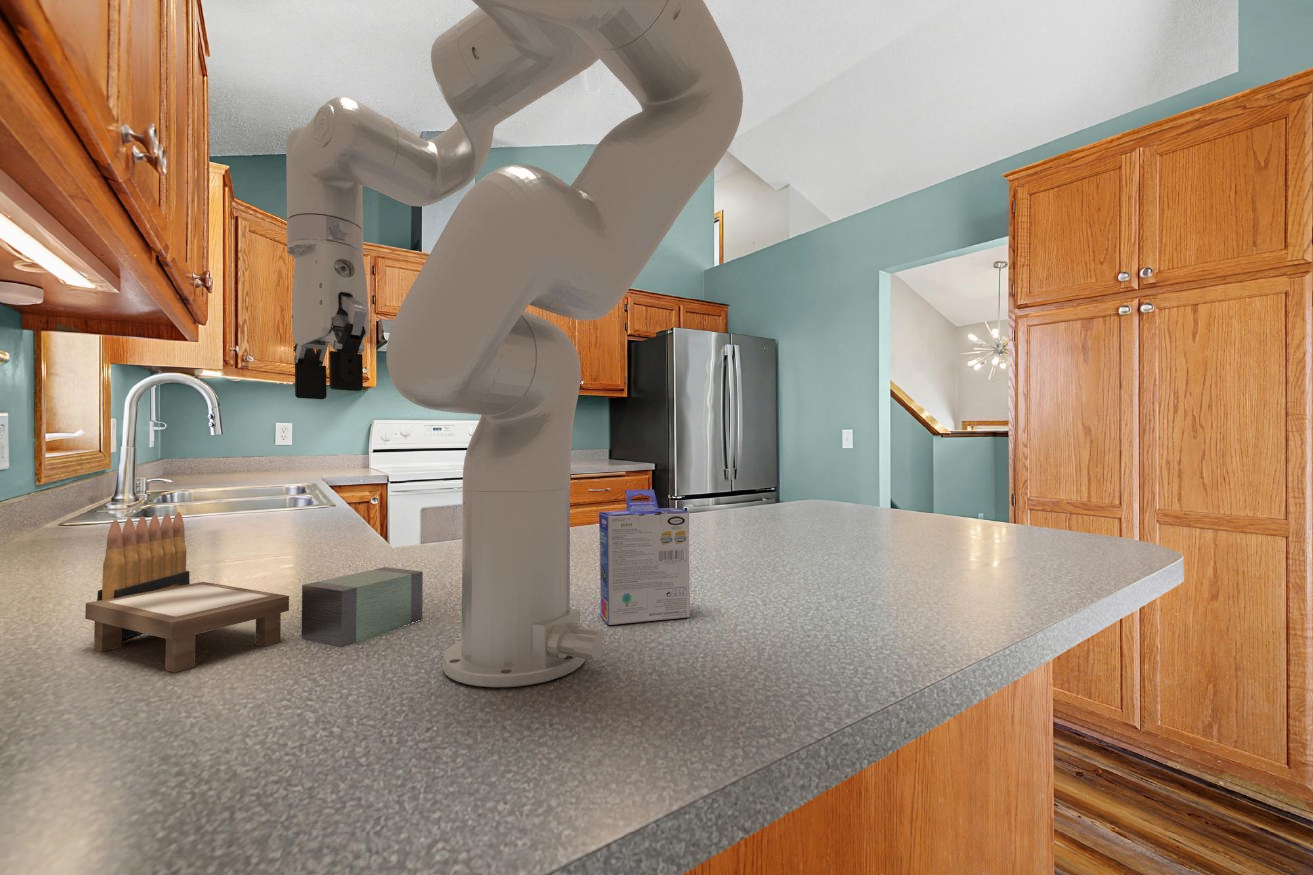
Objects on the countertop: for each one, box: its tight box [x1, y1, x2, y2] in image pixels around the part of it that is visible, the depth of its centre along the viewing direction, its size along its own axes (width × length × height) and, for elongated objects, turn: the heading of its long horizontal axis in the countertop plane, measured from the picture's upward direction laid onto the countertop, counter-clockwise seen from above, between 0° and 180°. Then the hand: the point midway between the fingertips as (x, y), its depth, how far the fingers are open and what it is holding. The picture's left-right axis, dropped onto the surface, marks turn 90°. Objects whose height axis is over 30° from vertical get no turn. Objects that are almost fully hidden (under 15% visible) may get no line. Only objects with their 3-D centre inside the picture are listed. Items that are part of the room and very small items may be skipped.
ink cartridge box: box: [598, 489, 691, 626], centre depth 68 cm, size 10×6×14 cm, turn 108°
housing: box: [301, 566, 424, 648], centre depth 63 cm, size 6×10×6 cm, turn 155°
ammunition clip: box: [96, 511, 191, 641], centre depth 63 cm, size 11×2×12 cm, turn 5°
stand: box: [84, 581, 290, 674], centre depth 57 cm, size 15×10×5 cm, turn 65°
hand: (327, 394), depth 65 cm, fingers open, 9 cm apart
